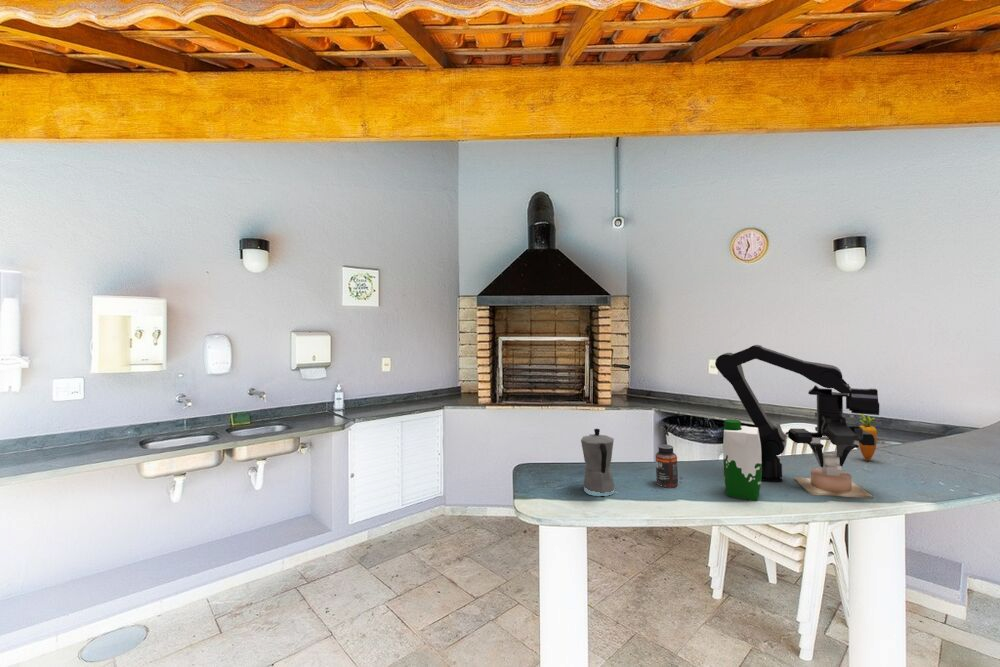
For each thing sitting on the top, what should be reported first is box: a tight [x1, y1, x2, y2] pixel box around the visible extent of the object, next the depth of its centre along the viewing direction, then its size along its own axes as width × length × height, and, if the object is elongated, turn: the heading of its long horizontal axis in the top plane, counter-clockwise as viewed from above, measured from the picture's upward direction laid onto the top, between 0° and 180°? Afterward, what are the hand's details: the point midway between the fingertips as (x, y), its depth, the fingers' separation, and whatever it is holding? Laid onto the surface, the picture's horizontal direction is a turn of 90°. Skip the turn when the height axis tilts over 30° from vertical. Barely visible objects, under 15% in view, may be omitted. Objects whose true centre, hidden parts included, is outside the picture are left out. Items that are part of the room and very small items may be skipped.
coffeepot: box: [580, 428, 616, 493], centre depth 122 cm, size 15×9×18 cm, turn 0°
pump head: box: [823, 453, 843, 470], centre depth 118 cm, size 4×7×5 cm, turn 165°
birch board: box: [793, 476, 873, 499], centre depth 119 cm, size 14×11×1 cm
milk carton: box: [722, 418, 762, 502], centre depth 117 cm, size 9×9×20 cm
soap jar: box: [810, 464, 853, 493], centre depth 119 cm, size 9×9×6 cm
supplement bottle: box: [655, 444, 679, 488], centre depth 126 cm, size 6×6×11 cm
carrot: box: [858, 414, 878, 462], centre depth 139 cm, size 5×5×15 cm
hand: (830, 467), depth 119 cm, fingers closed on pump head, 4 cm apart
